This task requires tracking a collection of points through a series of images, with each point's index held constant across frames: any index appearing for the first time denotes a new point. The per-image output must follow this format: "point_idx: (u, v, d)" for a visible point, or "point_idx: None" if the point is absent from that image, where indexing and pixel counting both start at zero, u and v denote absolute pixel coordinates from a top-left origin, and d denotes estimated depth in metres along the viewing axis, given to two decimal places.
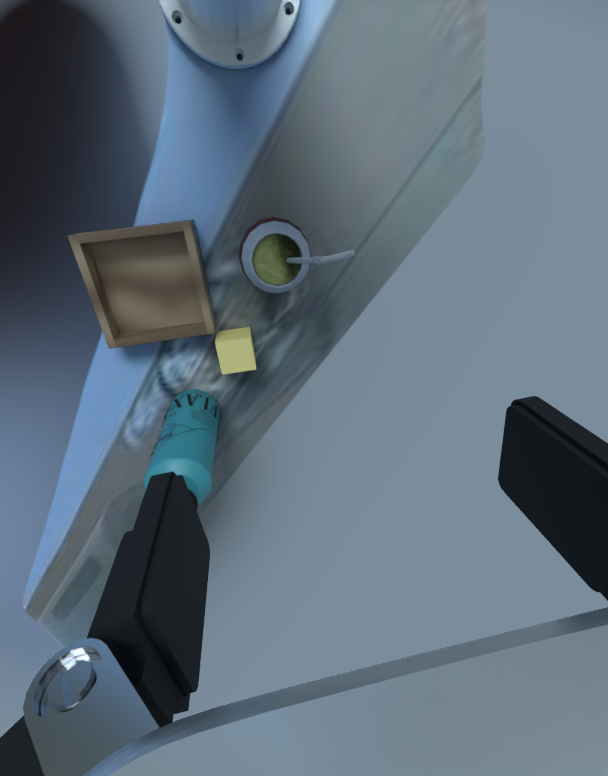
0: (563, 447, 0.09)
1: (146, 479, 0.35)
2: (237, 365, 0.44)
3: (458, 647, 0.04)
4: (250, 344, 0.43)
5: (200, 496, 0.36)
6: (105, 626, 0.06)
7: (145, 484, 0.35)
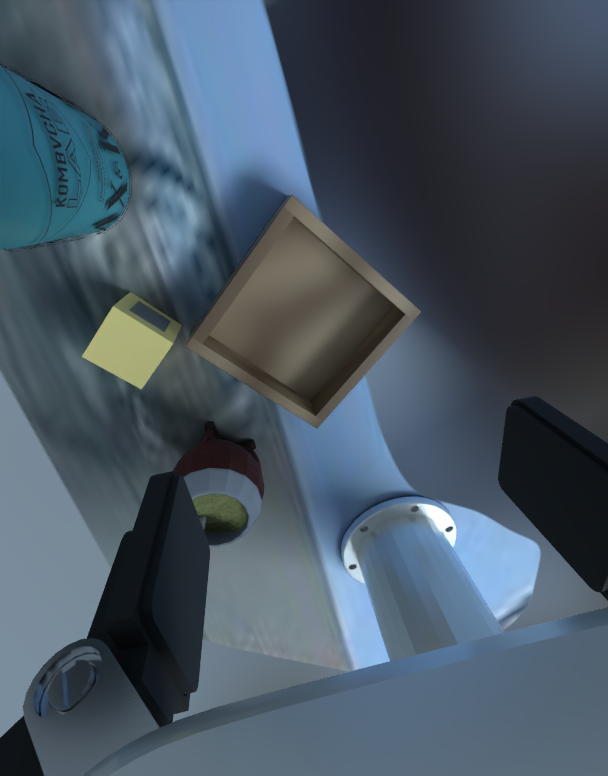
0: (563, 447, 0.09)
1: None
2: (111, 339, 0.23)
3: (458, 647, 0.04)
4: (130, 381, 0.25)
5: None
6: (105, 626, 0.06)
7: None
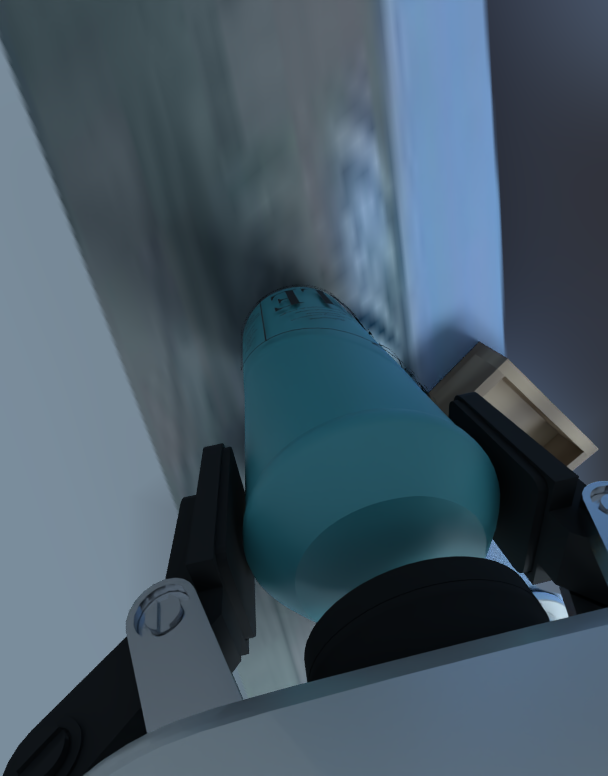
0: (490, 439, 0.09)
1: (498, 495, 0.09)
2: None
3: (458, 647, 0.04)
4: None
5: (290, 598, 0.08)
6: (187, 567, 0.07)
7: (492, 476, 0.08)
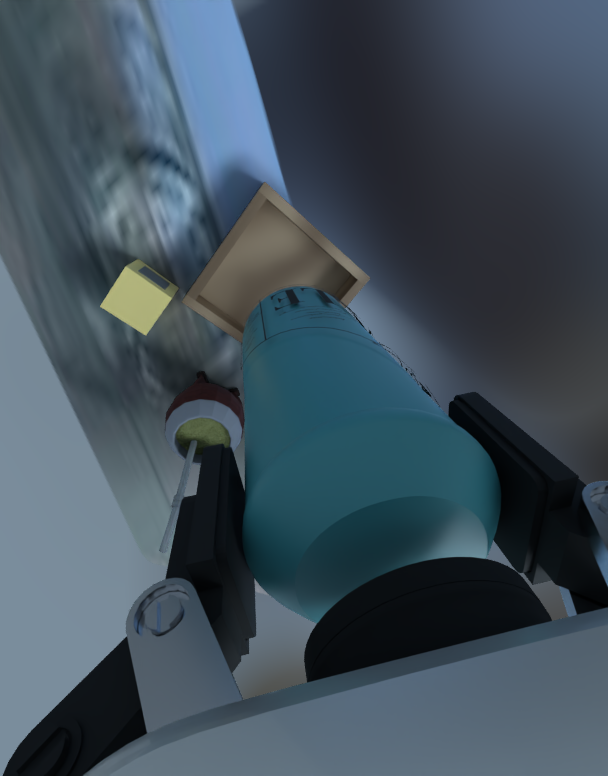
0: (490, 438, 0.09)
1: (499, 495, 0.08)
2: (123, 292, 0.30)
3: (458, 647, 0.04)
4: (137, 328, 0.31)
5: (290, 599, 0.08)
6: (188, 567, 0.07)
7: (493, 475, 0.08)
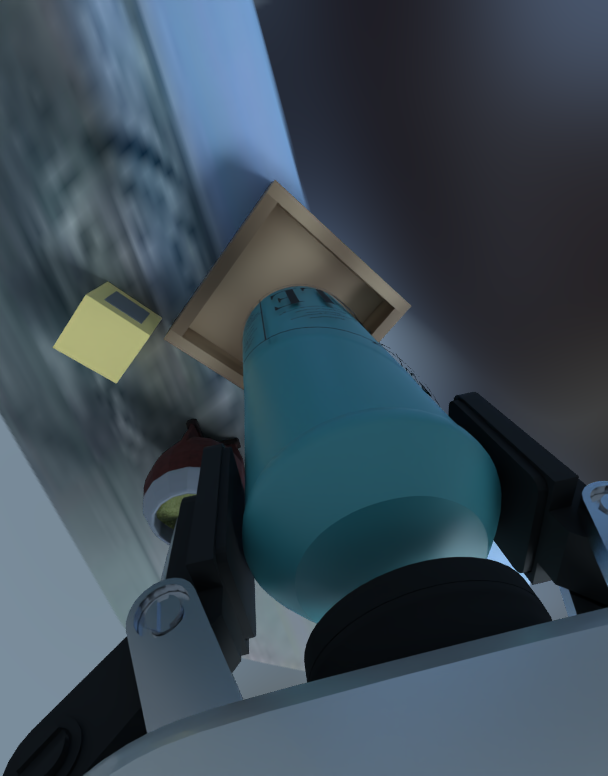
0: (490, 438, 0.09)
1: (500, 495, 0.08)
2: (83, 329, 0.22)
3: (458, 647, 0.04)
4: (105, 374, 0.23)
5: (290, 599, 0.08)
6: (188, 567, 0.07)
7: (493, 475, 0.08)
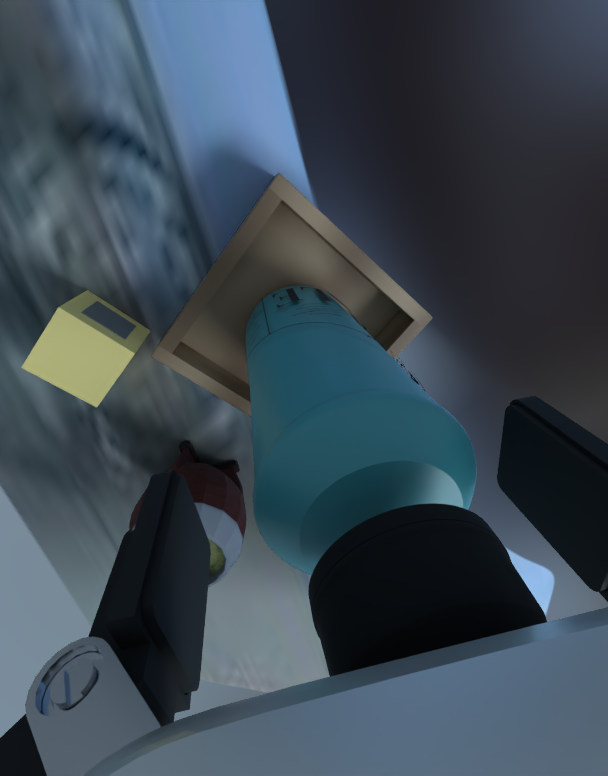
0: (561, 447, 0.09)
1: (474, 465, 0.10)
2: (57, 347, 0.19)
3: (458, 647, 0.04)
4: (83, 397, 0.20)
5: (295, 553, 0.09)
6: (107, 625, 0.06)
7: (468, 447, 0.10)
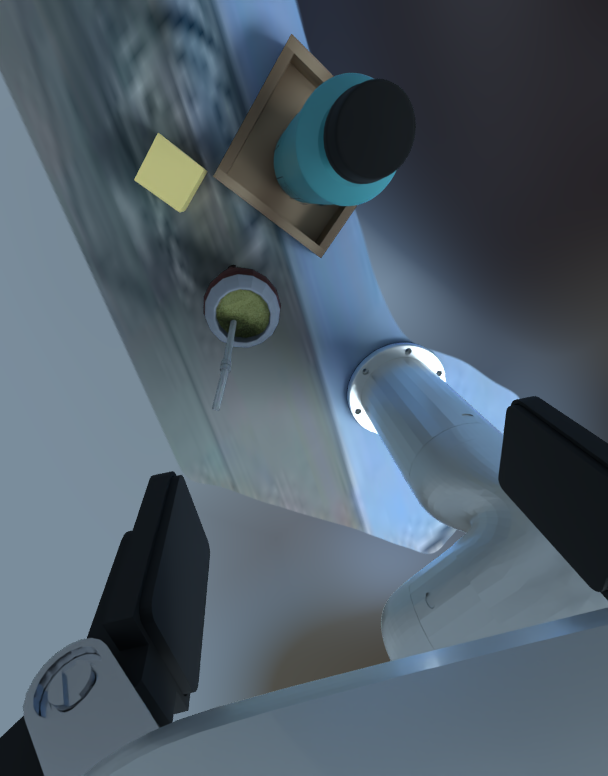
0: (563, 447, 0.09)
1: None
2: (156, 163, 0.30)
3: (458, 647, 0.04)
4: (171, 204, 0.31)
5: (316, 160, 0.20)
6: (105, 626, 0.06)
7: None
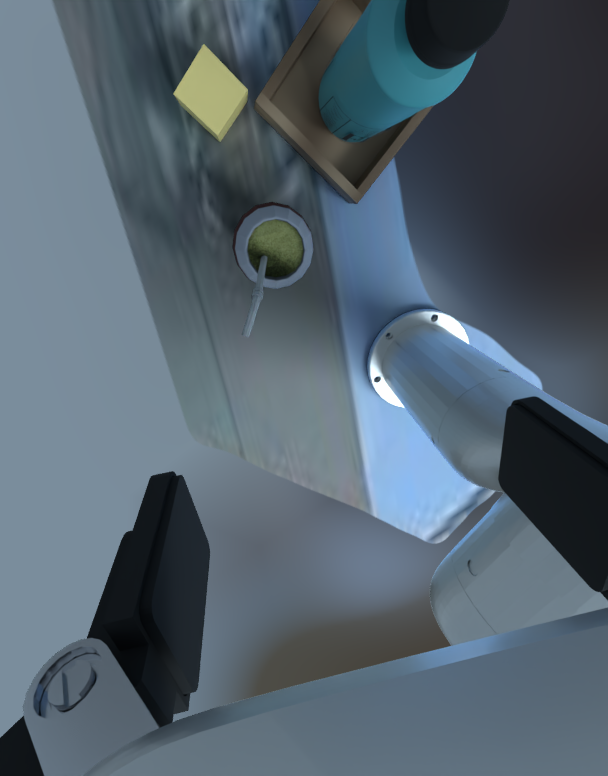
0: (563, 447, 0.09)
1: None
2: (198, 78, 0.28)
3: (458, 647, 0.04)
4: (209, 125, 0.30)
5: (389, 43, 0.19)
6: (105, 626, 0.06)
7: None
